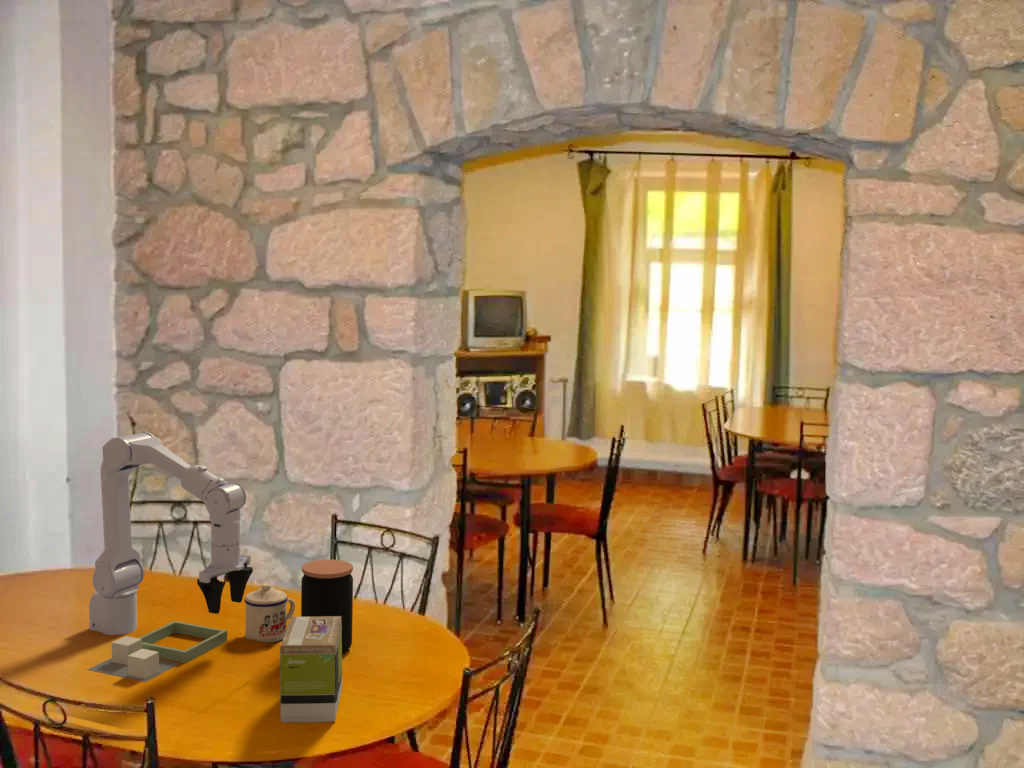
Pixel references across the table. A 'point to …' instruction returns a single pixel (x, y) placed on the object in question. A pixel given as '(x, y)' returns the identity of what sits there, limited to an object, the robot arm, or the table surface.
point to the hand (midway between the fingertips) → (225, 607)
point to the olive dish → (211, 634)
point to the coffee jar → (329, 593)
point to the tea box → (311, 669)
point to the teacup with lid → (267, 614)
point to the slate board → (122, 669)
